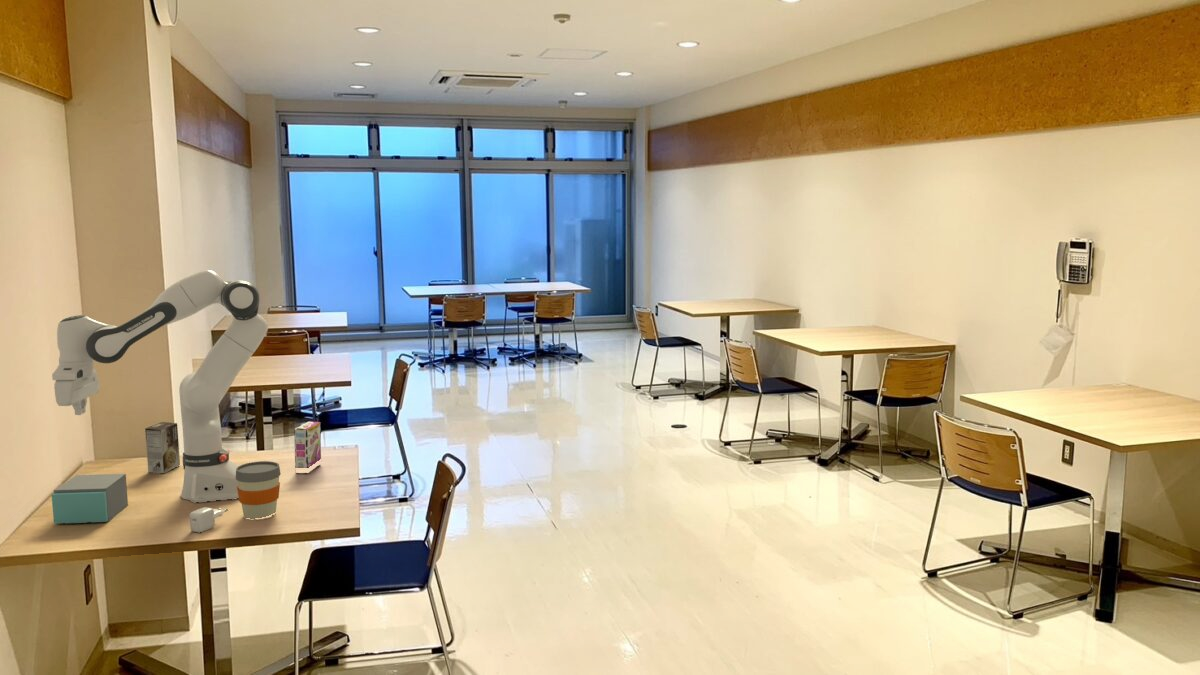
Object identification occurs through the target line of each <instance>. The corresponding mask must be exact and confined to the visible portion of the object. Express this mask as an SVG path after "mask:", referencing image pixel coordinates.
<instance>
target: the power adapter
mask: <svg viewBox="0 0 1200 675" xmlns="http://www.w3.org/2000/svg"><path fill="white" fill-rule="evenodd" d="M228 510H229V509H228V508H225V509H223V510H222V508H221V507H217V508H212V507H205V506H204V507H200V508H198V509H195V510H193V511H191V512H190V513H189V527H190V528H189V529H190V531H191V532H194V533H200V532H201V533H203V532H206V531H208V530H210V529H212V528H214V527H215V525H216V524H215V519H217V518H219V517H222V515H223V514H224V513H226V512H228Z"/></svg>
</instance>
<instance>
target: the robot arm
mask: <svg viewBox="0 0 1200 675" xmlns="http://www.w3.org/2000/svg"><path fill="white" fill-rule="evenodd" d="M215 304H219V305H222V306H223V307H224V308H225V310H227V311H228V312H229V313H230V314H231V315H232V320H231V323H230V325H229V326H228V328H227V329H226V330H225V331H224V333H223V334H222V335H221V336H220V338H219V339H218V340H217V341H216V342H215V343H214V345H213V346H212V348H211V349H210V350H209V351H208V352H207V354H206V356H205V358H204V359H203V361H202V362H201V365H200V366H199V368H198V369H197V370H196V371H195V372H192V373H189V374H187V375H186V376H185V377H184V378H183V379H182V380H181V382H180V383H179V387H178V388H179V391H178V394H179V403H180V414H181V424H182V437H183V438H182V440H183V452H182V467H183V470H184V472H183V473H184V474H183V484H182V490H181V492H180V497H181V498H182V499H184V500H188V501H191V503H193V502H194V503H195V504H197V503H196V502H199V503H207V501H210V502H217V501H216V500H221V501H228V500H227V499H232V500H236V499H235V498H239V496H238V491H237V486H238V483H237V480H236V468H237V467H238V466H239V465H238V464H236V463H235V462H233V461H232V460H230V456H229V455H230V450H229V449H228V450H225V449H224V448H223V447H222V446H223V441H222V424H221V417H220V408H219V405H220V404H221V402H222V400H223V399H224V397H225V395H226V394H227V393H228V391H229V389H230V388H231V386H232V384H233V382H234V381H235V379H236V378H237V376H238V374H239V373H240V371H241V370H242V369H243V367H245V365H246V364H247V363H248V361H249V360H250V358H251V357H252V356H253V354H255V352H256V350H258V348H259V346H260V345H261V343H262V342H263V339H265V337H266V334H267V333H268V330H269V324H268V322H267V321H266V319H265V318H264V317H263V315H260V314H259V306H260V293H259V291H258V289H257V287H255V285H253V284H252V283H251V282H249V281H246V280H241V279H240V280H239V279H238V280H233V281H224V280H223V278H222V277H221V276H220V275H219V274H218V273H217V272H215V271H213V270H211V269H205V270H202V271H201V270H200V271H198V272H196V273H193V274H191V275H189V276H186V277H184V278H182V279H179V280H178V281H176V282H175V283H173V284H171V285H170V286H169V287H167V288H166V289H164V290H163V291H162V292H161V293H160V294H159V295H158V296H157V297H156V298H155V300H154V301H153V302H152V303H151V305H150V306H149V307H148V308H147V309H146V310H145V311H143V312H142V313H140V314H138V315H136V316H134V317H132V318H131V319H129V320H127V321H126V322H124V323H123V324H120V325H119V326H117V325H113V324H112V325H111V324H107V323H103V322H100V321H97V320H95V319H93V318H90V317H89V316H88V315H83V314H80V315H74V316H73V315H71V316H68V317H65V318H64V319H62V320H61V321H60V322H58V324H57V330H56V336H57V337H56V340H57V348H58V350H59V357H58V366H57V367H56V369H55V370H54V372H53V373H52V376H51V378H52V381H55V382H54V395H55V402H56V404H57V406H59V407H69V406H72V408H73V410H74V415H75V416H81V415H83V414H85V413H86V407H87V402H88V398H90V397H92V396H93V395H96V394H98V393H99V391H100V383H99V382H100V381H99V377H98V373H97V371H96V370H95V363H94V361H95V362H98V363H100V364H112V363H116V362H118V361H119V360H120V359H121V358H122V357H123V356H124V355H125V353H127V351H128V350H129V348H130V347H131V346H132V345H134V344H135V343H136V342H138V341H139V340H141V339H143V338H145V337H146V336H148V335H149V334H152V333H153V332H155V331H157V330H159V329H160V328H162V327H165V326H167V325H171V324H172V323H173V324H174V323H175V322H178V321H181V320H184V319H187V318H189V317H191V316H193V315H195V314H197V313H198V312H200V311H202V310H203V309H205V308H207V307H209V306H211V305H215Z"/></svg>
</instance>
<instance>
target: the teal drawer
mask: <svg viewBox="0 0 1200 675" xmlns="http://www.w3.org/2000/svg"><path fill="white" fill-rule="evenodd" d="M51 504H52V514H53V515H52V516H53V524H56V525H58V524H59V525H60V523H65V524H83V523H84V524H85V523H86V522H91V523H108V522H107V521H108V512H107V498H106V491H103V492H73V493H54V492H53V493H52V494H51Z"/></svg>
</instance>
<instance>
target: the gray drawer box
mask: <svg viewBox="0 0 1200 675" xmlns="http://www.w3.org/2000/svg"><path fill="white" fill-rule="evenodd" d="M127 486H128V485H127V473H104V474H103V473H102V474H76V475H74V476H73V477H72V478H70V479H68V480H67V481H65V482H64V483H62V484H61V485H60V486H58V487H56V488H55V489H53V493H73V492H103V491H106V498H107V512H108V521H107V522H106V523H109V522H110V521H111V520H113V519H114V518H115V517H116V516H117V515H119V514H120V513H121V512H122V511H123V510H124V509H126V508H127V507H128V506H129V501H128V500H129V499H128V487H127ZM86 523H87V522H86Z"/></svg>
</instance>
